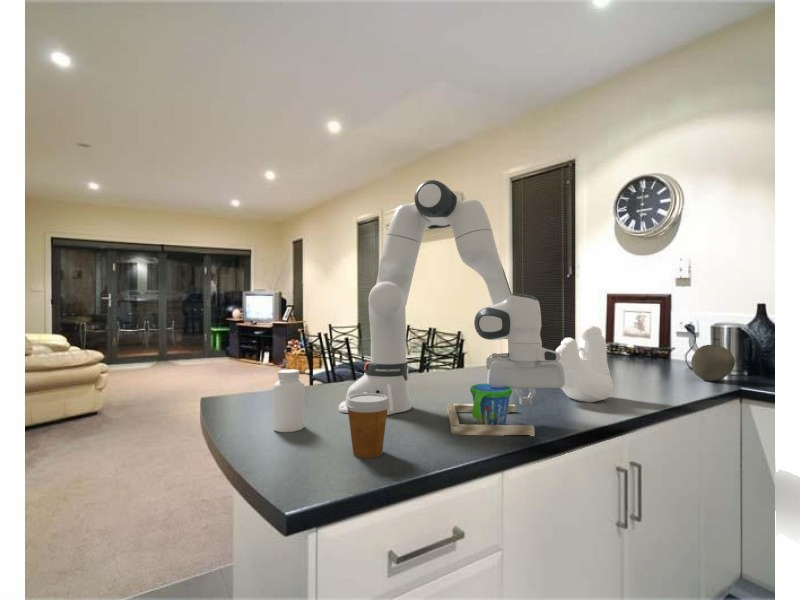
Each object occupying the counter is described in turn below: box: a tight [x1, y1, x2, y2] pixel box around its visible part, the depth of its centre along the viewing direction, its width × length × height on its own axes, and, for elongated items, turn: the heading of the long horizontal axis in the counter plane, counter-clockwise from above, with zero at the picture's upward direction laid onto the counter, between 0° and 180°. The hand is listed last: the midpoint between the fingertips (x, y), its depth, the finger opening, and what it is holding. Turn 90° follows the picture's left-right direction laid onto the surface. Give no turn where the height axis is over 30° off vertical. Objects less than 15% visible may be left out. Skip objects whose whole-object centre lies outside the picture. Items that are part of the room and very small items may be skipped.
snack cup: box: [469, 383, 513, 425], centre depth 113 cm, size 16×10×10 cm
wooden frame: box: [446, 403, 535, 437], centre depth 116 cm, size 20×24×2 cm
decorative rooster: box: [554, 325, 614, 403], centre depth 142 cm, size 25×16×25 cm, turn 109°
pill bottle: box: [272, 368, 306, 433], centre depth 110 cm, size 8×8×15 cm
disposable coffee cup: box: [346, 394, 390, 459], centre depth 92 cm, size 10×10×12 cm
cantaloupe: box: [690, 344, 736, 382], centre depth 176 cm, size 14×14×15 cm
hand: (525, 404), depth 115 cm, fingers closed
